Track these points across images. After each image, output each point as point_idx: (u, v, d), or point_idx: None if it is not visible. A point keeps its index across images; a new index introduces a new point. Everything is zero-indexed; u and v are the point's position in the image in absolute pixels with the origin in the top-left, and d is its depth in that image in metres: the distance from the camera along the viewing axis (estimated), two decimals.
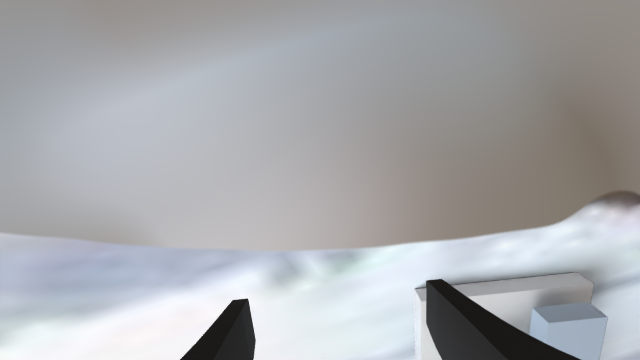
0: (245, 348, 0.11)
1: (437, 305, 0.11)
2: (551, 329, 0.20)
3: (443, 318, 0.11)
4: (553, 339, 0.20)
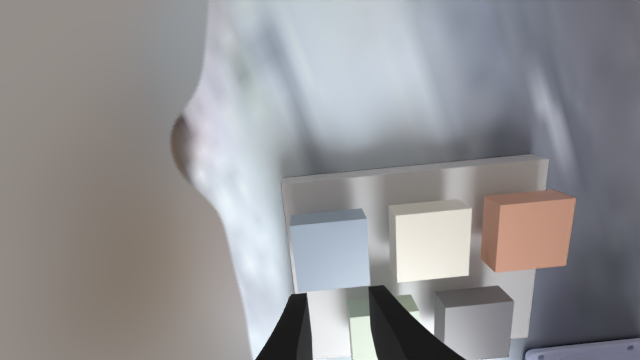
0: (309, 341, 0.11)
1: (374, 312, 0.11)
2: (307, 287, 0.17)
3: (378, 325, 0.11)
4: (322, 282, 0.17)
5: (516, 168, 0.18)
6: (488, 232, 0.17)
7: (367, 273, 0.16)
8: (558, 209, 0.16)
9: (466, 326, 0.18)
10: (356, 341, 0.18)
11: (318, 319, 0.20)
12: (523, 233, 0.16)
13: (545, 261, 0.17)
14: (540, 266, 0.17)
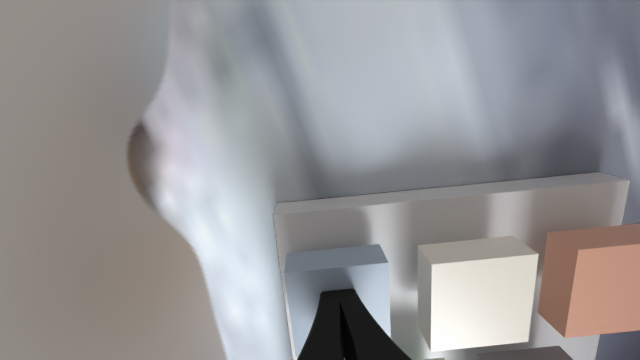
0: (342, 338, 0.11)
1: (341, 315, 0.11)
2: None
3: (343, 328, 0.10)
4: None
5: (586, 192, 0.14)
6: (553, 281, 0.13)
7: (387, 332, 0.12)
8: None
9: None
10: None
11: None
12: (607, 286, 0.12)
13: (633, 323, 0.12)
14: (626, 329, 0.12)
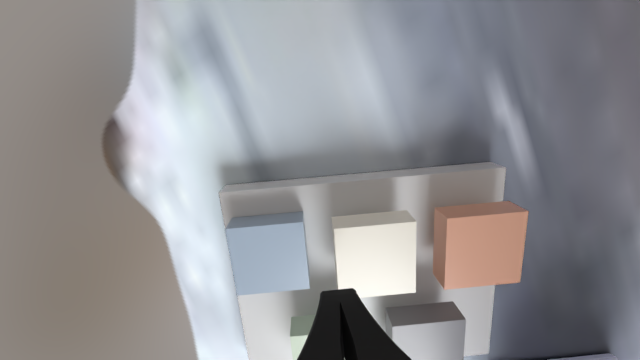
0: (342, 338, 0.11)
1: (341, 315, 0.11)
2: (246, 290, 0.16)
3: (344, 328, 0.10)
4: (261, 285, 0.16)
5: (471, 177, 0.17)
6: (438, 246, 0.16)
7: (306, 276, 0.16)
8: (509, 223, 0.15)
9: (415, 345, 0.17)
10: None
11: (265, 335, 0.19)
12: (473, 248, 0.15)
13: (498, 278, 0.16)
14: (492, 283, 0.16)
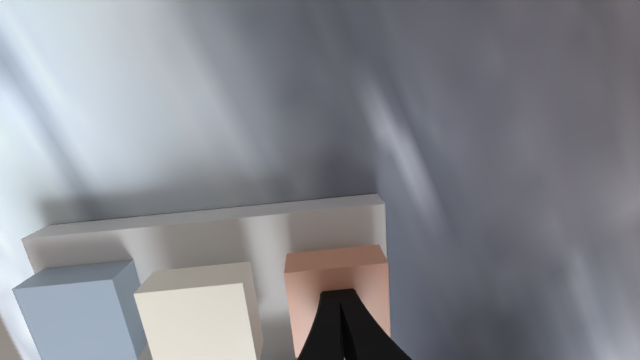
0: (342, 338, 0.11)
1: (341, 315, 0.11)
2: None
3: (344, 328, 0.10)
4: (74, 356, 0.13)
5: (342, 216, 0.13)
6: None
7: (130, 344, 0.13)
8: (366, 277, 0.12)
9: None
10: None
11: None
12: None
13: None
14: None
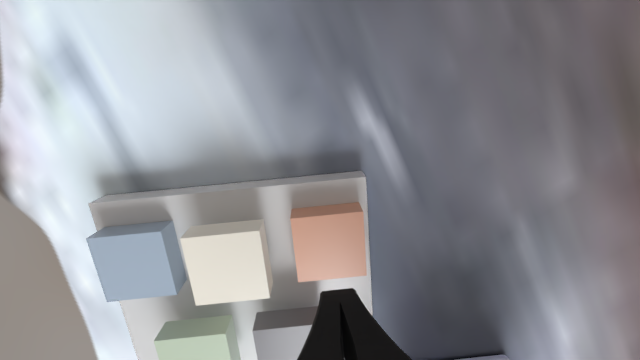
0: (342, 338, 0.11)
1: (341, 315, 0.11)
2: (115, 297, 0.17)
3: (344, 328, 0.10)
4: (129, 292, 0.17)
5: (333, 186, 0.18)
6: None
7: (172, 283, 0.17)
8: (347, 222, 0.17)
9: (278, 349, 0.17)
10: None
11: (152, 338, 0.20)
12: (318, 244, 0.17)
13: (345, 271, 0.17)
14: (341, 276, 0.17)
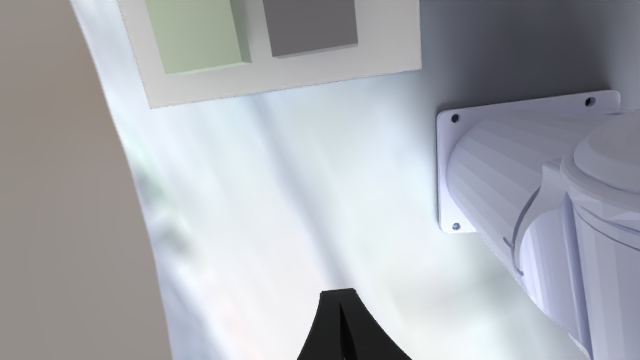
0: (342, 338, 0.11)
1: (341, 315, 0.11)
2: None
3: (344, 328, 0.10)
4: None
5: None
6: None
7: None
8: None
9: None
10: (156, 22, 0.14)
11: (153, 46, 0.17)
12: None
13: None
14: None
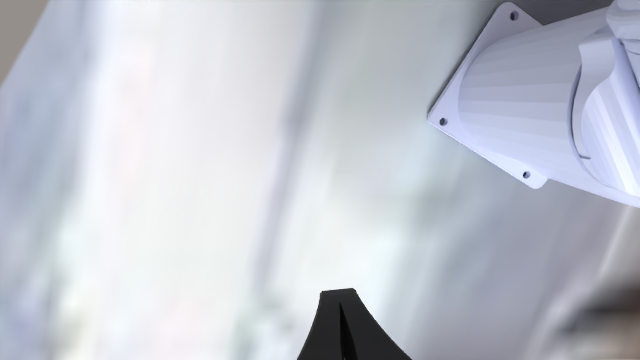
0: (342, 338, 0.11)
1: (341, 315, 0.11)
2: None
3: (343, 328, 0.10)
4: None
5: None
6: None
7: None
8: None
9: None
10: None
11: None
12: None
13: None
14: None
